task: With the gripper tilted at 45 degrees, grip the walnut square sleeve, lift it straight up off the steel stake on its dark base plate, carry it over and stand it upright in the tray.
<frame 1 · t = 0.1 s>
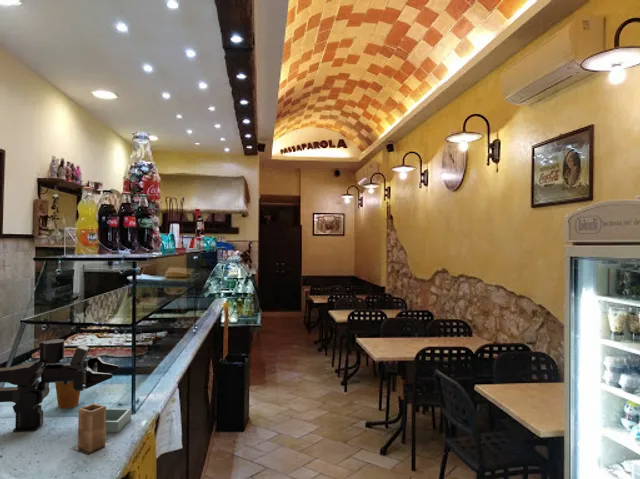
hand: (115, 371, 150), 17 cm above the worktop, tool horizontal, fingers open, 9 cm apart
tray: (107, 427, 146), on the worktop
stake base: (91, 448, 132), on the worktop
sleeve: (91, 446, 132), point 1 cm above the worktop, touching stake base
disposable coffee cup: (68, 405, 164), on the worktop
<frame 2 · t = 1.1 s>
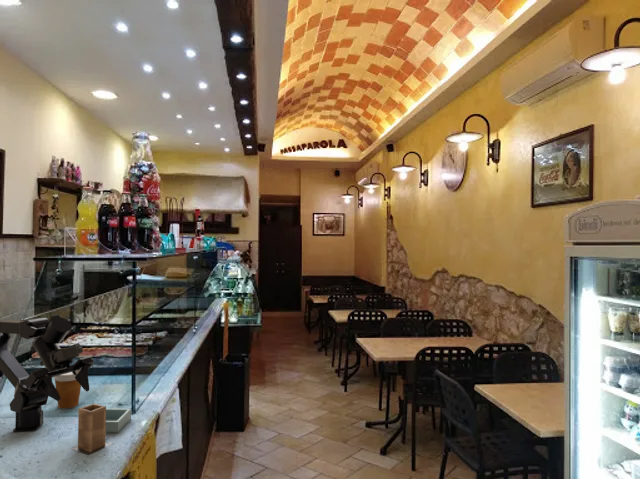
hand: (74, 395, 135), 14 cm above the worktop, tool tilted 45°, fingers open, 9 cm apart
nothing on the worktop moved.
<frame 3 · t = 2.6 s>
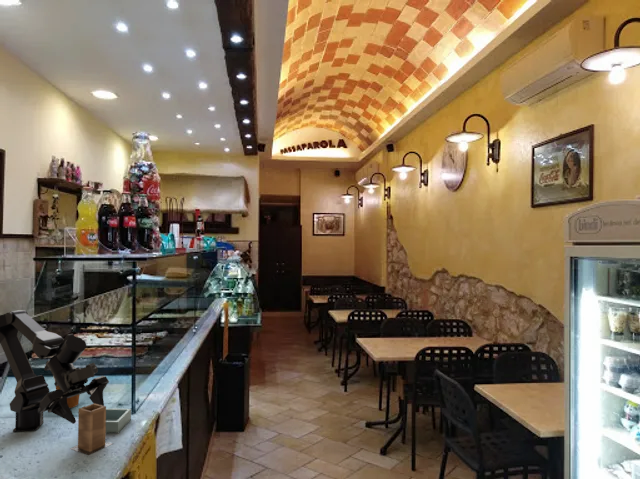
hand: (89, 417, 132), 9 cm above the worktop, tool tilted 45°, fingers open, 9 cm apart
nothing on the worktop moved.
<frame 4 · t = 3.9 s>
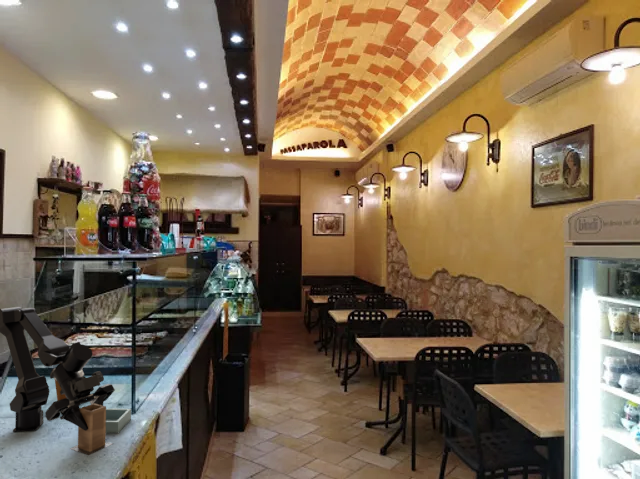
hand: (95, 426, 131), 7 cm above the worktop, tool tilted 45°, fingers closed on sleeve, 5 cm apart
sleeve: (91, 446, 132), point 1 cm above the worktop, touching gripper, stake base
everything else where it was.
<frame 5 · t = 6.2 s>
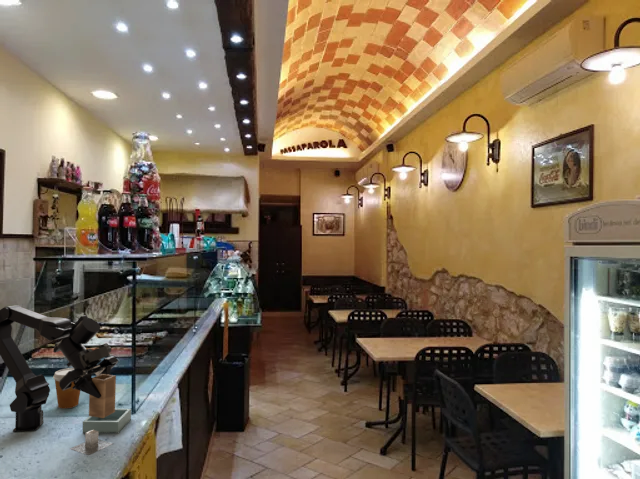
hand: (106, 394, 138), 13 cm above the worktop, tool tilted 45°, fingers closed on sleeve, 5 cm apart
sleeve: (102, 413, 138), point 7 cm above the worktop, touching gripper
everything else where it was.
when the fingers open (8 cm above the worktop, at t = 8.5 s): sleeve drops 2 cm, resting on tray.
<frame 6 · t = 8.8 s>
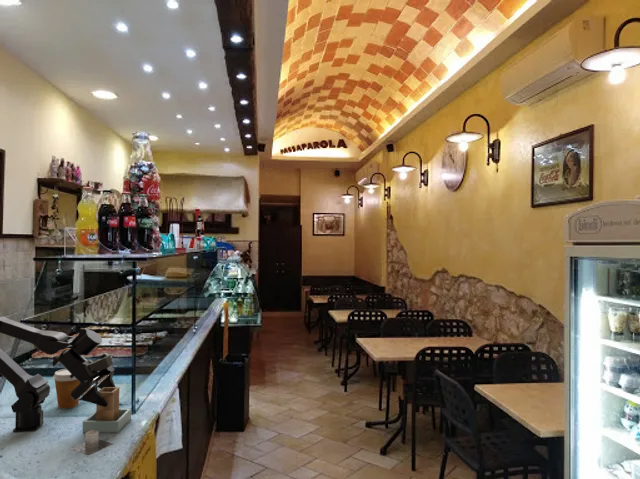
hand: (112, 400, 146), 9 cm above the worktop, tool tilted 45°, fingers open, 8 cm apart
sleeve: (107, 424, 146), point 1 cm above the worktop, touching tray
everything else where it was.
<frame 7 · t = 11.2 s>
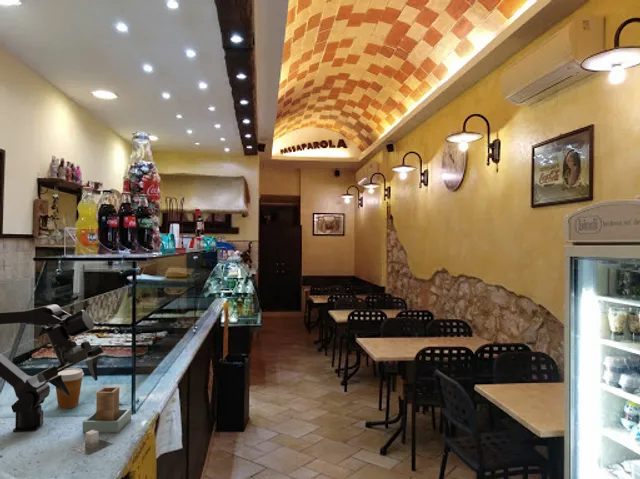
hand: (82, 387, 146), 12 cm above the worktop, tool tilted 25°, fingers open, 9 cm apart
nothing on the worktop moved.
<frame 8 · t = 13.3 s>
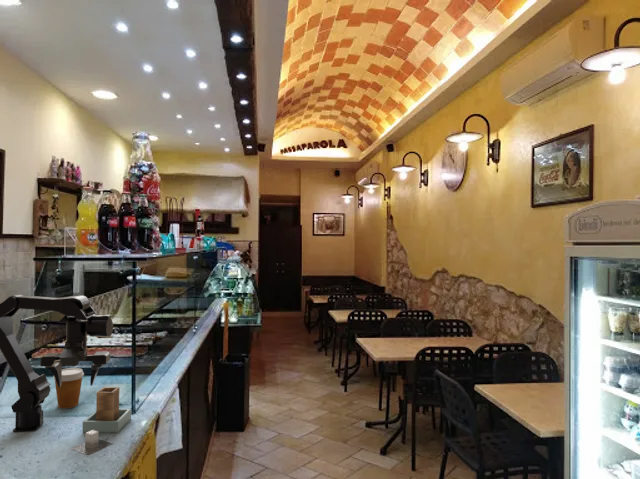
hand: (75, 386, 146), 13 cm above the worktop, tool pointing down, fingers open, 9 cm apart
nothing on the worktop moved.
at the end: sleeve 0.0 cm off-centre on the tray, point 1.0 cm above the tray's base; sleeve tilted 0°; the gripper is holding nothing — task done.
